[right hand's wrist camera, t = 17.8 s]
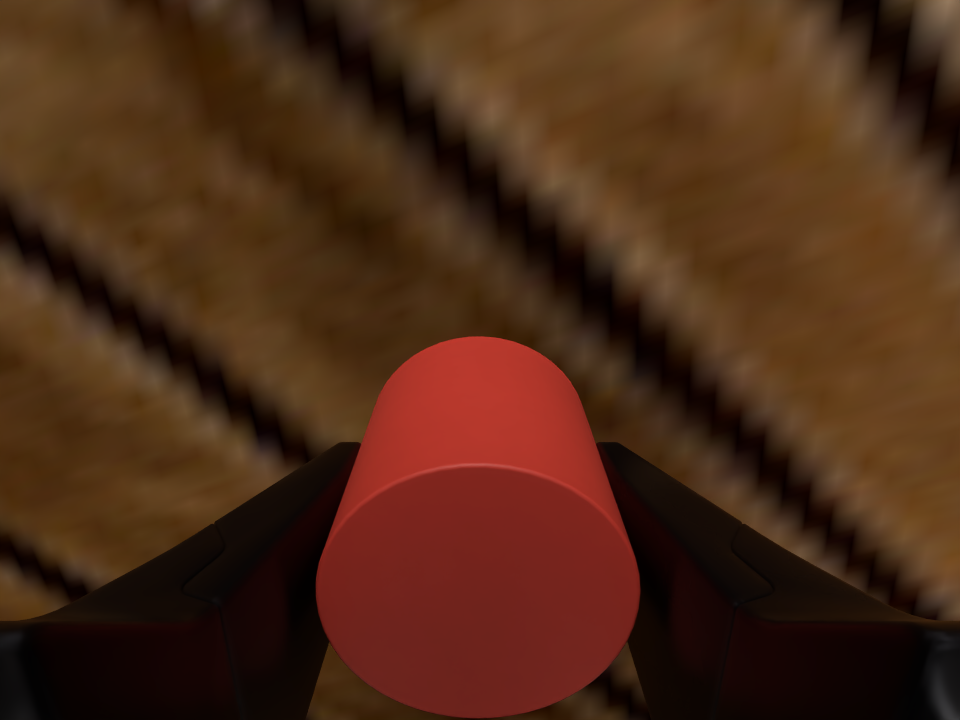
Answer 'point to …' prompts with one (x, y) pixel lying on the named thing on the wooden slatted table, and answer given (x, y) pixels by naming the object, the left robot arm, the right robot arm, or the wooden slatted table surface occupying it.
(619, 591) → the canister
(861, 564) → the wooden slatted table surface
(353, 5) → the wooden slatted table surface
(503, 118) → the wooden slatted table surface
